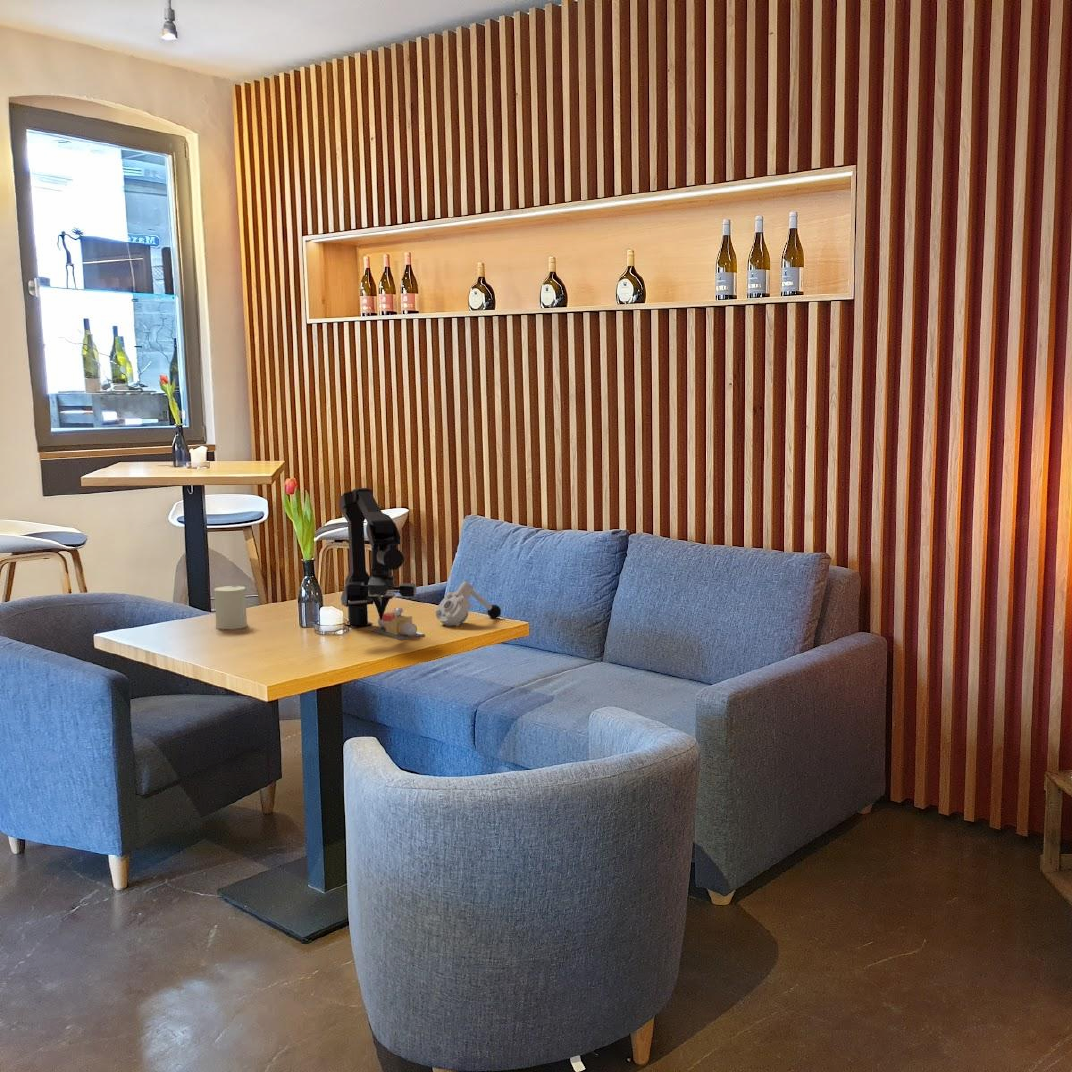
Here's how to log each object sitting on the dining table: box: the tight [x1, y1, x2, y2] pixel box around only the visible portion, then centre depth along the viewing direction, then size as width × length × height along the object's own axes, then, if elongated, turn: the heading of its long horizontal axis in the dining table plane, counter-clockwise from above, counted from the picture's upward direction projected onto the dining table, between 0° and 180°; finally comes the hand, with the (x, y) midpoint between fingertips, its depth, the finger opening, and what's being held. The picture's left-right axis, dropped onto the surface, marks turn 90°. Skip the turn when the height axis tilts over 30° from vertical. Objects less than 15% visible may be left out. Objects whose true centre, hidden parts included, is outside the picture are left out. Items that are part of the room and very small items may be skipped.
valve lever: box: [382, 607, 404, 621], centre depth 317 cm, size 13×2×2 cm, turn 171°
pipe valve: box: [370, 612, 426, 641], centre depth 323 cm, size 17×8×6 cm, turn 37°
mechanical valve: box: [434, 581, 502, 627], centre depth 339 cm, size 10×18×15 cm
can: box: [213, 585, 248, 630], centre depth 336 cm, size 9×9×12 cm
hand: (381, 619), depth 313 cm, fingers closed
